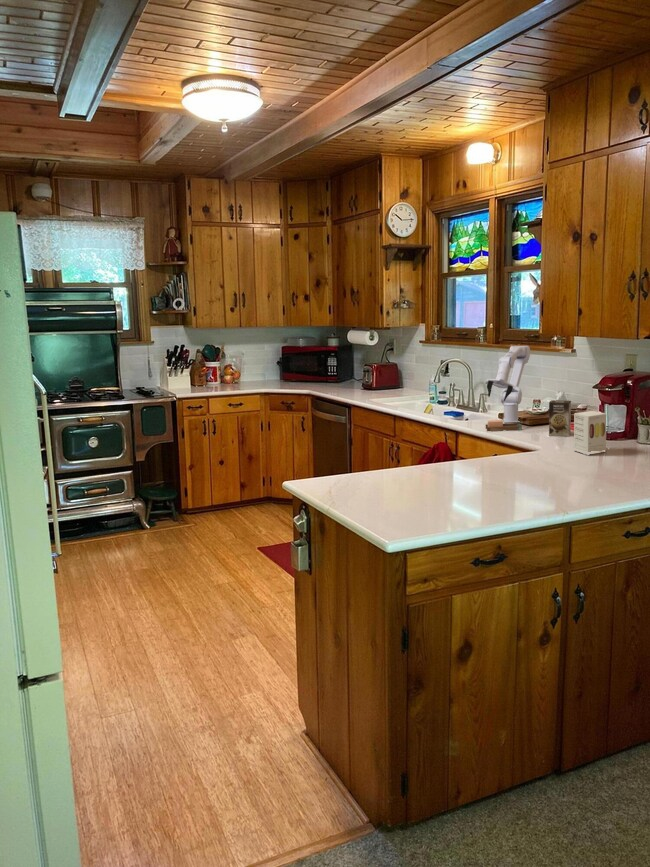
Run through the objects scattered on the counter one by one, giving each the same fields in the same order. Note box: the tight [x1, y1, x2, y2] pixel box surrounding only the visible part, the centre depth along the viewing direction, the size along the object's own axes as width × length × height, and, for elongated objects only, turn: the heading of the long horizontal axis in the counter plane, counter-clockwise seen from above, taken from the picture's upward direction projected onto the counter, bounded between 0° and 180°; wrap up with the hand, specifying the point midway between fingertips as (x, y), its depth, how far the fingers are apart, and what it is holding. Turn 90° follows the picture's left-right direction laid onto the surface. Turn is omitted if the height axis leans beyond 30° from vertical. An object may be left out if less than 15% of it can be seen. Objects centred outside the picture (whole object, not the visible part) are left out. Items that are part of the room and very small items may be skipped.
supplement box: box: [573, 410, 607, 452], centre depth 293 cm, size 10×9×17 cm
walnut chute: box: [485, 421, 523, 432], centre depth 349 cm, size 8×17×3 cm, turn 82°
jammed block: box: [487, 419, 504, 427], centre depth 350 cm, size 4×7×4 cm, turn 83°
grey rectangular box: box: [548, 399, 572, 438], centre depth 327 cm, size 9×6×16 cm
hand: (496, 397), depth 343 cm, fingers open, 7 cm apart
